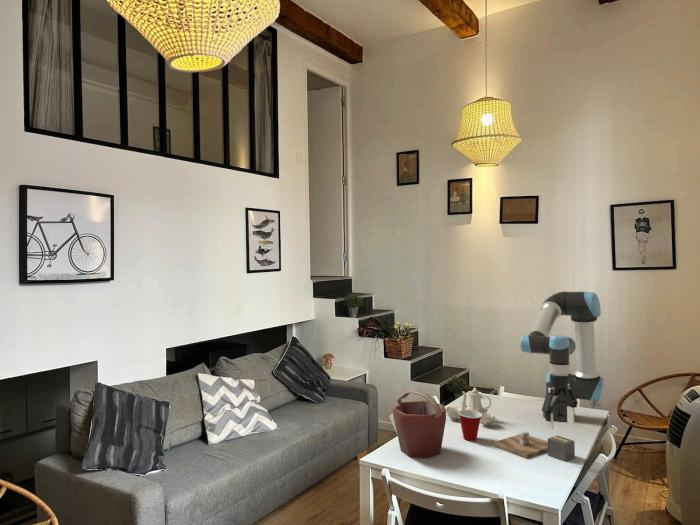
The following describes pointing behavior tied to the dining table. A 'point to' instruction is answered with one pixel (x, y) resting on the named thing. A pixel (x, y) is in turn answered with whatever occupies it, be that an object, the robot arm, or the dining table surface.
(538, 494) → the dining table surface
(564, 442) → the grey box
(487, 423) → the chinaware
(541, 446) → the hub base
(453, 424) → the dining table surface
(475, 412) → the plastic cup
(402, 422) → the bucket
